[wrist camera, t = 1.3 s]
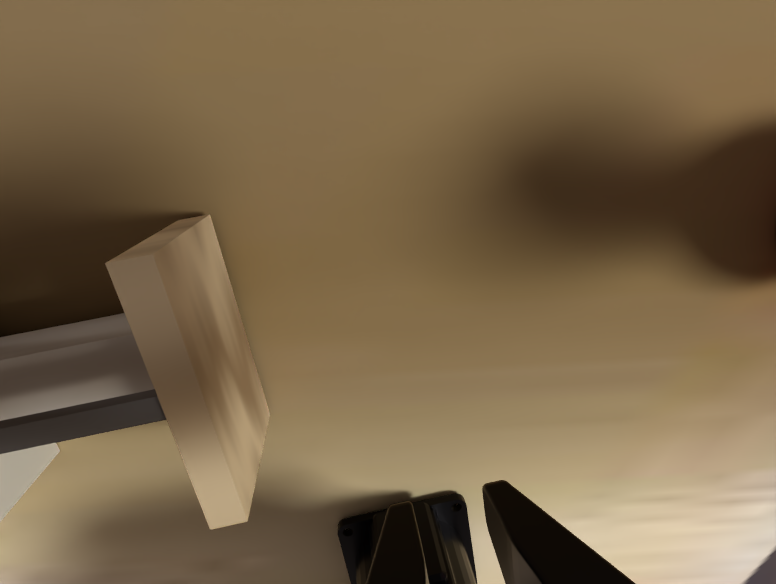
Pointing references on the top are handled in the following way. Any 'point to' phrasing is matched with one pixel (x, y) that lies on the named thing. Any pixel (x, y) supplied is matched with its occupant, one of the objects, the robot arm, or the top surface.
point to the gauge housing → (22, 472)
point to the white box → (151, 369)
